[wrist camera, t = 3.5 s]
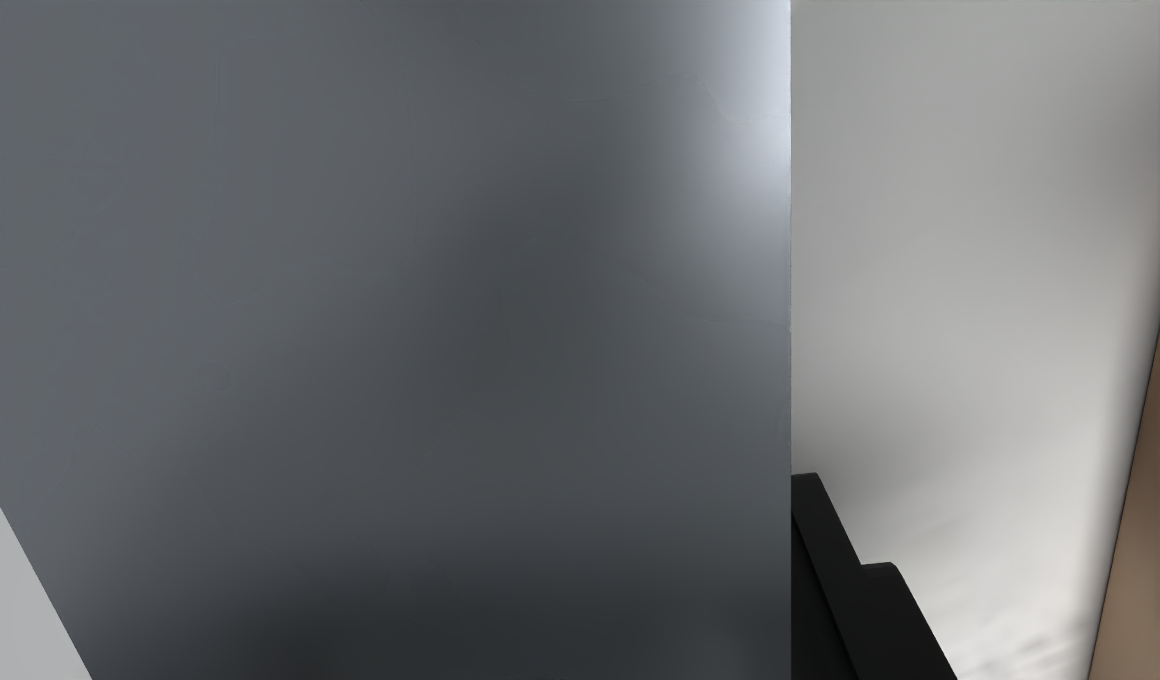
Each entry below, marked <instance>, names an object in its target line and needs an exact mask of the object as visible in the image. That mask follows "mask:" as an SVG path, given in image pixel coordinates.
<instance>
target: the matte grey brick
mask: <svg viewBox="0 0 1160 680" xmlns="http://www.w3.org/2000/svg"><path fill="white" fill-rule="evenodd" d="M0 507H1V509H2V511H3V513H4V514H5V516H6V518H7V520H8V522H9V524H10V526H11V527H12V530H13V531H14V533H15V535H16V537H17V539H18V541H19V543H20V544H21V546H22V548H23V550H24V552H25V554H26V556H27V558H28V560H29V561H30V563H31V565H32V567H33V569H34V571H35V573H36V575H37V576H38V578H39V580H40V582H41V584H42V586H43V588H44V589H45V591H46V593H47V595H48V597H49V599H50V601H51V603H52V605H53V607H54V608H55V610H56V612H57V614H58V616H59V618H60V620H61V621H62V623H63V625H64V627H65V629H66V631H67V633H68V634H69V636H70V638H71V640H72V642H73V644H74V646H75V648H76V649H77V652H78V653H79V655H80V657H81V659H82V661H83V663H84V665H85V667H86V668H87V670H88V672H89V674H90V676H91V678H92V680H791V0H0Z"/></svg>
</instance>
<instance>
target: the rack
mask: <svg viewBox="0 0 1160 680" xmlns="http://www.w3.org/2000/svg"><path fill="white" fill-rule="evenodd" d="M1089 680H1160V333H1159V338H1158V343H1157V348H1156V353H1155V358H1154V362H1153V367H1152V372H1151V377H1150V382H1149V387H1148V392H1147V397H1146V402H1145V407H1144V411H1143V416H1142V421H1141V426H1140V431H1139V436H1138V441H1137V446H1136V451H1135V456H1134V461H1133V465H1132V470H1131V475H1130V480H1129V485H1128V490H1127V495H1126V500H1125V505H1124V510H1123V514H1122V519H1121V524H1120V529H1119V534H1118V539H1117V544H1116V549H1115V554H1114V559H1113V564H1112V568H1111V573H1110V578H1109V583H1108V588H1107V593H1106V598H1105V603H1104V608H1103V613H1102V618H1101V622H1100V627H1099V632H1098V637H1097V642H1096V647H1095V652H1094V657H1093V662H1092V667H1091V671H1090V676H1089Z"/></svg>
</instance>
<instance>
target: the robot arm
mask: <svg viewBox="0 0 1160 680" xmlns="http://www.w3.org/2000/svg"><path fill="white" fill-rule="evenodd" d="M791 680H958V679H957V677H956V676H955V674H954V672H953V670H952V668H951V666H950V664H949V663H948V661H947V659H946V657H945V655H944V653H943V651H942V649H941V648H940V646H939V644H938V642H937V640H936V638H935V636H934V635H933V633H932V631H931V629H930V627H929V625H928V623H927V621H926V620H925V618H924V616H923V614H922V612H921V610H920V608H919V607H918V605H917V603H916V601H915V599H914V597H913V595H912V593H911V592H910V590H909V588H908V586H907V584H906V582H905V580H904V579H903V577H902V575H901V573H900V572H899V570H898V569H897V567H896V566H895V565H894V564H893V563H891V562H885V563H875V564H865V565H861V563H860V561H859V559H858V557H857V555H856V553H855V551H854V549H853V547H852V544H851V542H850V540H849V538H848V536H847V534H846V532H845V530H844V528H843V526H842V523H841V521H840V519H839V517H838V515H837V513H836V511H835V509H834V507H833V505H832V503H831V500H830V498H829V496H828V494H827V492H826V490H825V488H824V486H823V484H822V482H821V480H820V478H819V476H818V474H817V473H806V474H797V475H791Z"/></svg>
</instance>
